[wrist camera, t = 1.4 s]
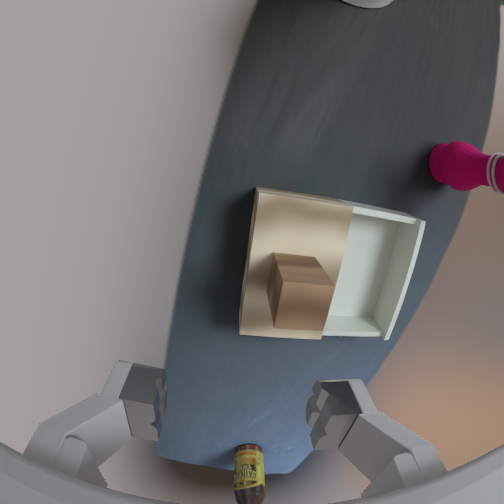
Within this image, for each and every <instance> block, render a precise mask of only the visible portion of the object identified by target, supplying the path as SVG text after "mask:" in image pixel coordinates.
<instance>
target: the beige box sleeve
mask: <svg viewBox="0 0 504 504" xmlns="http://www.w3.org/2000/svg"><path fill="white" fill-rule="evenodd" d="M353 208H354V207H352V206H350V205H348V204H346V203H344V202H342V201H340V200H338V199H334V198H328V197H322V196H316V195H310V194H304V193H297V192H291V191H284V190H277V189H270V188H262V187H256V190H255V197H254V205H253V212H252V219H251V227H250V234H249V241H248V249H247V256H246V263H245V271H244V278H243V286H242V293H241V300H240V308H239V334H242V335H254V336H267V337H282V338H300V339H321V337H322V334H323V331H309V330H291V329H276V328H274V326H273V321H272V316H271V311H270V306H269V301H268V296H267V286H268V280H269V274H270V268H271V262H272V256H273V252H275V253H284V254H293V255H302V256H311V257H315V258H316V259H317V261H318V262H319V263H320V265H321V266H322V268H323V269H324V270H325V272H326V273H327V275H328V276H329V278H330V279H331V280H332V282H333V283H334V285H335V287H336V283H337V279H338V275H339V271H340V267H341V263H342V259H343V255H344V250H345V246H346V241H347V237H348V232H349V228H350V223H351V218H352V213H353ZM334 291H335V290H334ZM333 295H334V294H333ZM332 298H333V297H332ZM331 302H332V301H331ZM330 306H331V305H330ZM329 309H330V308H329ZM328 313H329V312H328ZM327 317H328V316H327ZM326 320H327V319H326ZM325 324H326V323H325ZM324 327H325V326H324ZM323 330H324V329H323Z"/></svg>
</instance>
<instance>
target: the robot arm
mask: <svg viewBox="0 0 504 504" xmlns="http://www.w3.org/2000/svg"><path fill="white" fill-rule="evenodd" d="M342 1H345V2H347V3H349V4H352V5H356V6H359V7H365V8H380V7H384V6H386V5H388V4H389V3H391V2H392V1H393V0H342ZM165 382H166V370H165V369H162V368H157V367H152V366H147V365H142V364H137V363H131V362H126V361H122V360H119V361H118V362H117V363H116V364H115V366H114V368H113V370H112V372H111V374H110V376H109V378H108V380H107V382H106V385H105V387H104V389H103V391H102V393H101V394H98V393H96V394H94V395H92V396H91V397H89V398H87V399H85V400H83V401H81V402H80V403H78V404H76V405H74V406H72V407H70V408H68V409H66V410H65V411H63V412H61V413H59V414H57V415H55V416H53V417H51V418H49V419H48V420H45V421H43V422H41V423H40V424H39V425H38V427H37V429H36V431H35V432H34V434H33V436H32V438H31V440H30V442H29V444H28V446H27V447H26V449H25V451H24V453H23V454H21V453H19V452H17V451H15V450H14V449H12V448H10V447H8V446H6V445H5V444H3V443H1V442H0V504H178V503H171V502H165V501H159V500H154V499H149V498H144V497H139V496H135V495H131V494H127V493H123V492H119V491H116V490H112V489H109V488H107V483H106V481H105V479H104V478H103V476H102V474H101V472H100V471H99V469H98V466H100V465H101V464H102V463H103V462H105V461H106V460H107V459H108V458H109V457H111V456H112V455H113V454H114V453H115V452H116V451H118V450H119V449H120V448H121V447H122V446H123V445H125V444H126V443H127V442H128V441H129V440H131V439H132V437H136V438H142V439H147V440H153V441H159V438H160V433H161V429H162V418H161V417H163V416H164V415H165V411H166V405H167V387H166V386H165ZM312 390H313V393H314V395H313V396H311V397H310V398H309V399H308V402H307V405H306V420H307V424H308V425H309V426H310V427H311V428H312V431H311V433H310V437H311V441H312V445H313V449H314V450H323V449H337V448H339V449H338V450H339V451H340V452H341V453H342V454H343V455H344V456H345V457H346V458H347V459H348V460H349V461H350V462H351V463H352V464H353V465H354V466H355V467H356V468H357V469H358V470H359V471H360V472H362V473H363V474H364V475H365V476H366V477H367V478H368V479H369V480H370V481H371V482H372V483H371V484H370V485H369V486H368V487H367V488H366V489H365V490H364V491H363V492H362V494H361V497H362V498H359V499H354V500H348V501H343V502H337V503H331V504H504V444H503V445H501V446H499V447H497V448H495V449H494V450H492V451H490V452H488V453H486V454H484V455H482V456H480V457H478V458H476V459H474V460H472V461H470V462H468V463H466V464H464V465H461V466H459V467H457V468H455V469H452V470H450V471H447V470H446V468H445V466H444V464H443V463H442V461H441V459H440V457H439V455H438V454H437V451H436V450H435V448H434V446H433V445H432V444H431V443H429V442H427V441H426V440H425V439H423V438H421V437H420V436H418V435H417V434H415V433H413V432H412V431H410V430H409V429H407V428H406V427H404V426H402V425H401V424H399V423H398V422H396V421H394V420H393V419H392V418H390V417H389V416H387V415H385V414H384V413H382V412H377V410H376V408H375V406H374V404H373V402H372V400H371V398H370V396H369V394H368V392H367V390H366V388H365V386H364V384H363V382H362V380H360V379H347V380H317V381H316V382H315V383H314V386H313V389H312Z"/></svg>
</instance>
